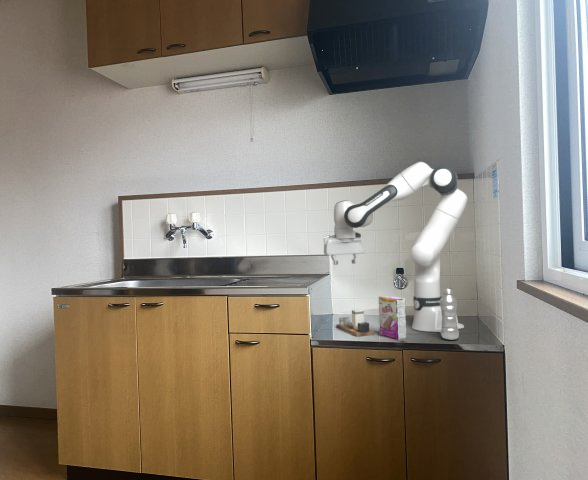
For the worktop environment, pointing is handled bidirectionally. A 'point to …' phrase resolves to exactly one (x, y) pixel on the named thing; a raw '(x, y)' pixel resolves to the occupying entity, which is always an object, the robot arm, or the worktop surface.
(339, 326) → the rail board
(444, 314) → the plastic bottle
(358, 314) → the grey-banded white pillar
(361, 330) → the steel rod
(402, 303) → the candy bar box
